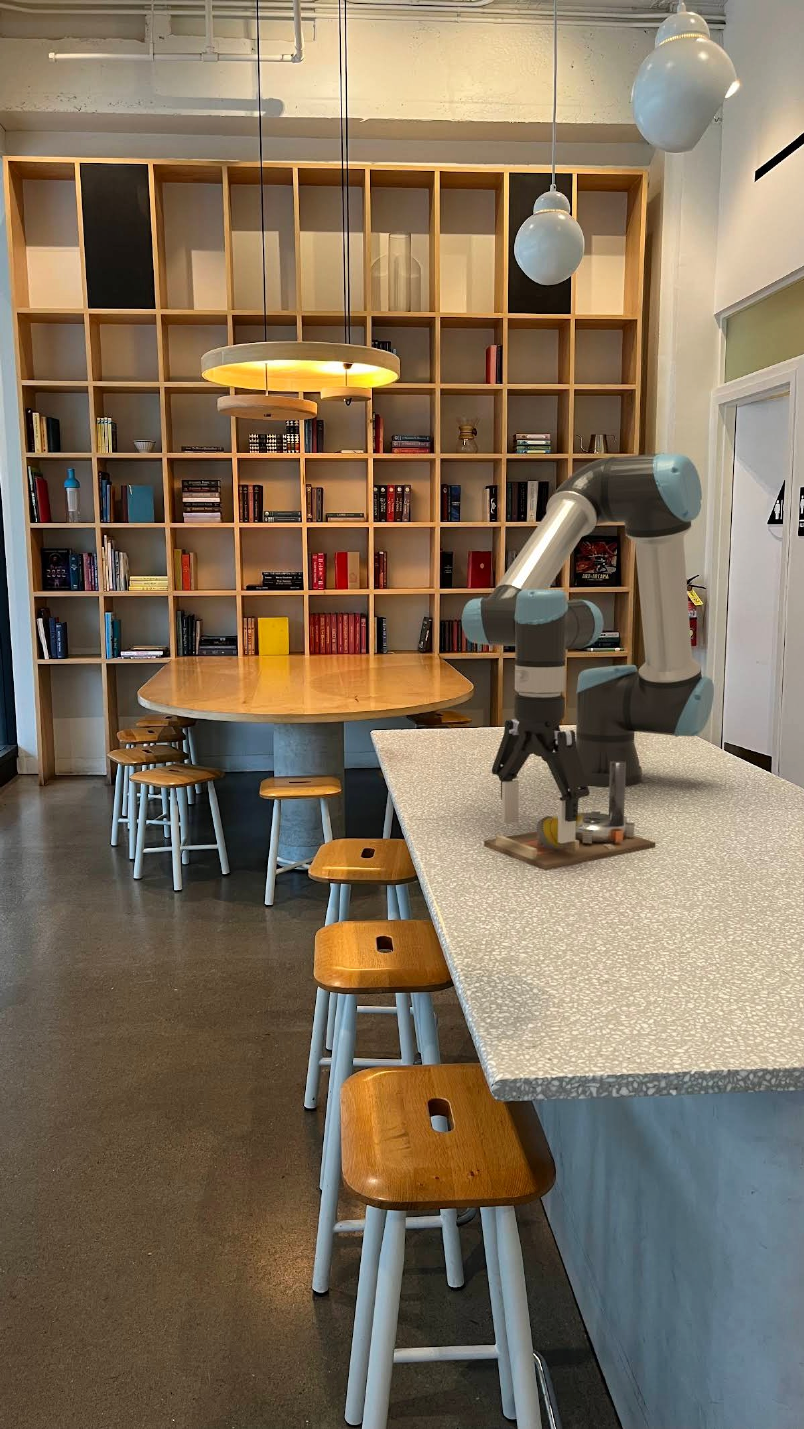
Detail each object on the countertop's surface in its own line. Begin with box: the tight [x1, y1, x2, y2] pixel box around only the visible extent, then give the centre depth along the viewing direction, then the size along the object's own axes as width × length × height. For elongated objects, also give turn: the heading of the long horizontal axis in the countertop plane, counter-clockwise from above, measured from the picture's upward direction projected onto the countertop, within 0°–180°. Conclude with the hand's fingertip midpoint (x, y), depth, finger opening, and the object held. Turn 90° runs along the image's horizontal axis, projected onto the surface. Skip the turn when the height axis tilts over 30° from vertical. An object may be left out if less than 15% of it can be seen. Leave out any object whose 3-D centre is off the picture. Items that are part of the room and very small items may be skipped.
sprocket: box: [575, 761, 635, 843], centre depth 162 cm, size 13×13×12 cm
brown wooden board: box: [483, 830, 656, 871], centre depth 159 cm, size 15×22×2 cm
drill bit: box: [536, 815, 583, 851], centre depth 153 cm, size 5×5×10 cm
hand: (537, 831), depth 156 cm, fingers open, 13 cm apart
